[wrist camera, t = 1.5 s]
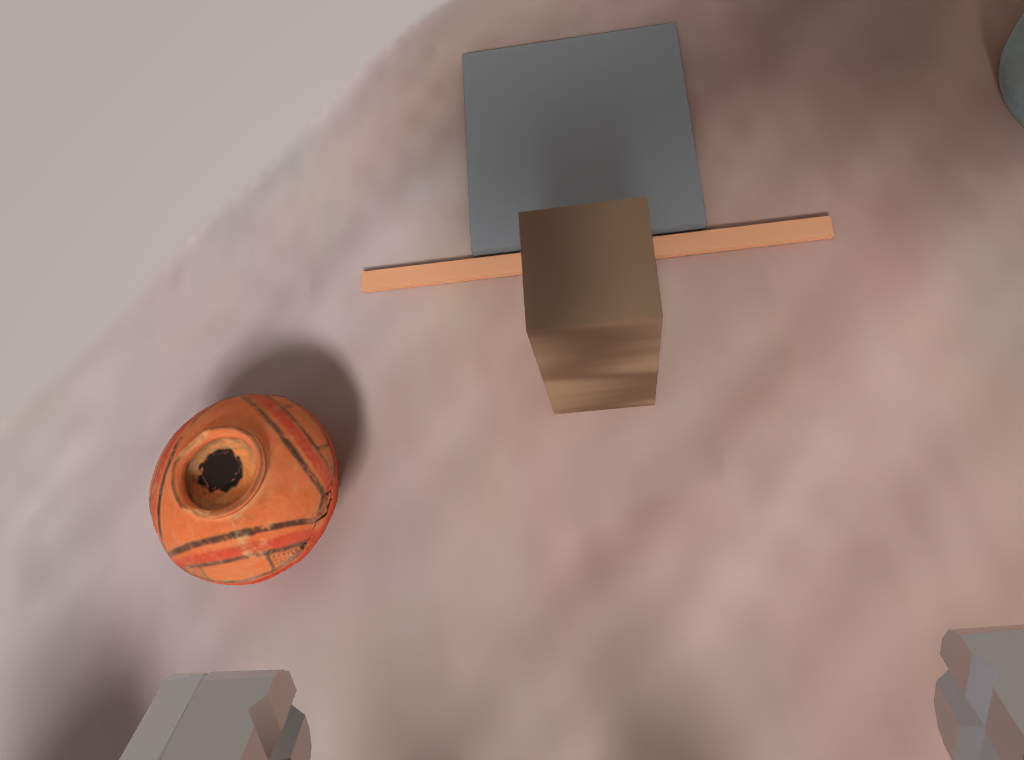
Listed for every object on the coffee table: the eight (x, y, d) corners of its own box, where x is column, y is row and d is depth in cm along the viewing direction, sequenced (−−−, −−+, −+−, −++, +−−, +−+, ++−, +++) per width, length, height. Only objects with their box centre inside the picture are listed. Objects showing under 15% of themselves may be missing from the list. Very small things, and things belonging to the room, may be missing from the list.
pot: (149, 494, 36) (84, 434, 30) (301, 407, 39) (268, 336, 33) (228, 641, 34) (173, 607, 28) (387, 538, 36) (368, 486, 30)
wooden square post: (643, 312, 36) (647, 195, 27) (654, 404, 35) (662, 315, 25) (547, 322, 37) (518, 212, 27) (554, 414, 35) (526, 330, 26)
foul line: (828, 218, 36) (830, 215, 36) (832, 238, 36) (834, 234, 36) (363, 274, 39) (361, 271, 39) (363, 293, 38) (361, 290, 38)
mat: (674, 30, 41) (675, 22, 40) (705, 228, 37) (706, 222, 36) (464, 62, 42) (462, 54, 41) (473, 256, 38) (471, 250, 38)
